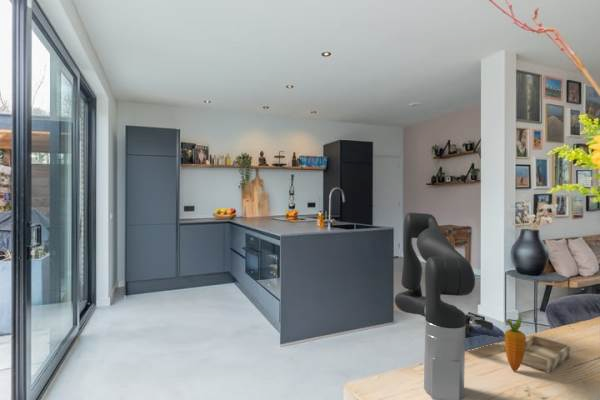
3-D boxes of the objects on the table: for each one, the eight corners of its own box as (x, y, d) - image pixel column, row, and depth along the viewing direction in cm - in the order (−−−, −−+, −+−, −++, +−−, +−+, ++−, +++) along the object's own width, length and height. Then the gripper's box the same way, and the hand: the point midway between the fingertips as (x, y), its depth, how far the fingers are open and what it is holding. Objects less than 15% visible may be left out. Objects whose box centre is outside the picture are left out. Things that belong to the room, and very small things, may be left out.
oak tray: (549, 373, 97) (549, 361, 97) (510, 360, 104) (510, 348, 104) (570, 357, 107) (570, 345, 107) (533, 346, 115) (533, 335, 115)
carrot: (504, 373, 97) (505, 318, 97) (503, 365, 101) (504, 313, 101) (525, 377, 94) (527, 322, 94) (523, 369, 99) (525, 316, 99)
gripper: (426, 304, 119) (466, 319, 104) (456, 300, 124) (498, 313, 110) (425, 326, 119) (466, 344, 104) (455, 320, 124) (498, 337, 110)
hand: (482, 328), depth 107 cm, fingers open, 8 cm apart
